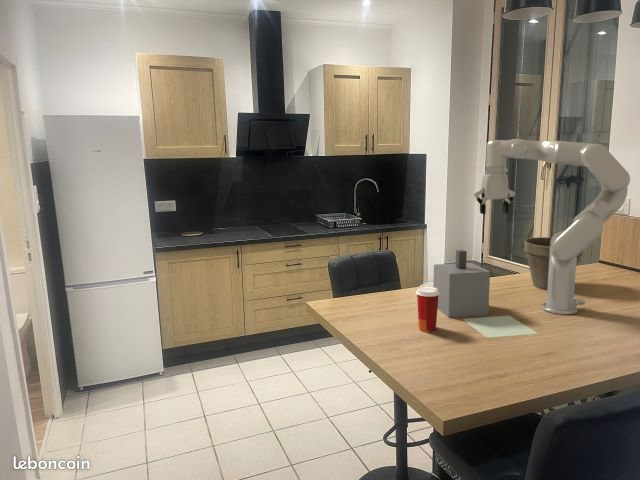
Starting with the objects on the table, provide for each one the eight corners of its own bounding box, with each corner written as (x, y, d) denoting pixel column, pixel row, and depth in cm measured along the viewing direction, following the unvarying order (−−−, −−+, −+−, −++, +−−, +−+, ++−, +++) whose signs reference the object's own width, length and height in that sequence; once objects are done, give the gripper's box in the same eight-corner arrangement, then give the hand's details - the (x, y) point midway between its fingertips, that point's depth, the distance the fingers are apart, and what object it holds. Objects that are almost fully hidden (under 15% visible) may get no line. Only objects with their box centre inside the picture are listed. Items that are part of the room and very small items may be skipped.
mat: (509, 316, 176) (509, 315, 176) (538, 334, 157) (538, 333, 157) (462, 319, 174) (462, 318, 174) (486, 338, 155) (486, 337, 155)
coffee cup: (439, 326, 168) (440, 287, 165) (437, 334, 160) (438, 293, 158) (416, 324, 171) (417, 285, 168) (413, 332, 163) (414, 291, 160)
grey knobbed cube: (469, 303, 193) (471, 246, 189) (488, 315, 177) (490, 253, 173) (433, 305, 191) (434, 248, 187) (448, 318, 175) (450, 255, 171)
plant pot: (592, 293, 202) (596, 245, 198) (536, 294, 203) (539, 247, 199) (563, 279, 227) (566, 236, 223) (513, 280, 227) (515, 237, 223)
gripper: (510, 170, 189) (508, 211, 191) (471, 171, 186) (469, 213, 189) (520, 170, 181) (518, 213, 184) (479, 172, 179) (478, 215, 182)
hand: (494, 213), depth 187 cm, fingers open, 9 cm apart
